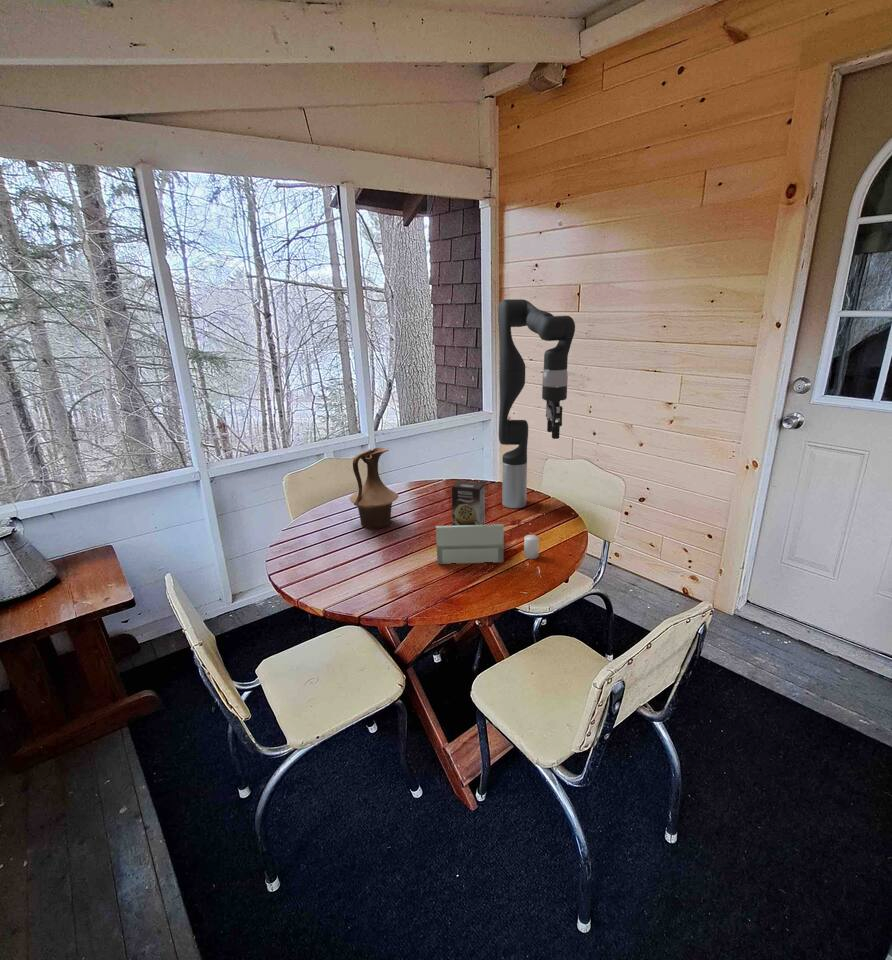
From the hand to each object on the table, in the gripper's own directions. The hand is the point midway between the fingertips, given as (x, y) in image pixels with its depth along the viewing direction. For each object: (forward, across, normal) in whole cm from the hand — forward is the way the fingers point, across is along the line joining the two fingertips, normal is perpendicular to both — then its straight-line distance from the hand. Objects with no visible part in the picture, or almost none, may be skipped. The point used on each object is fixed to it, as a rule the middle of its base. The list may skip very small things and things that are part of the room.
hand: (553, 435), depth 163 cm
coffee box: (+28, +12, -28) cm, 41 cm away
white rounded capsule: (+34, +17, -8) cm, 39 cm away
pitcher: (+34, -10, -61) cm, 71 cm away
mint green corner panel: (+34, +14, -28) cm, 46 cm away
